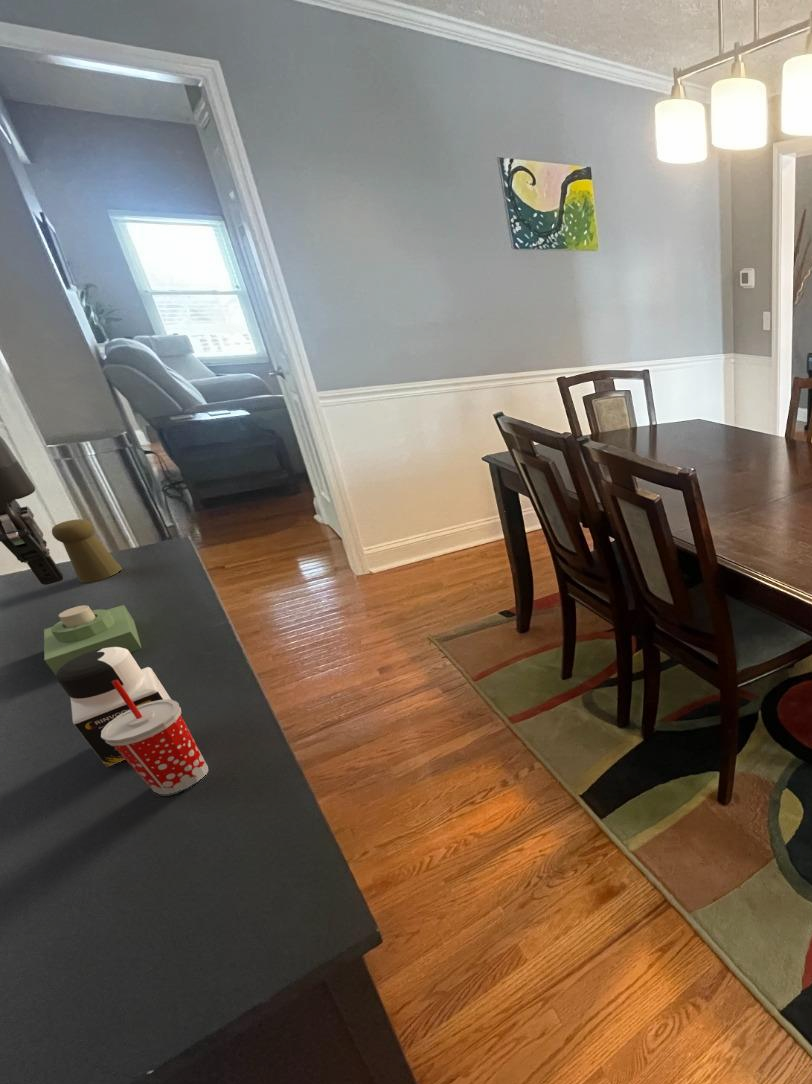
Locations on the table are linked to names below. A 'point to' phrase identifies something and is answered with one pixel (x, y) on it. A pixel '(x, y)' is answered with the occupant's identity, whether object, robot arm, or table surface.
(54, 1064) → the table surface
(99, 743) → the medicine bottle
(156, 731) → the beverage cup
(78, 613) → the beige button cap
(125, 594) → the table surface
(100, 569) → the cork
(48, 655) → the green push button box
